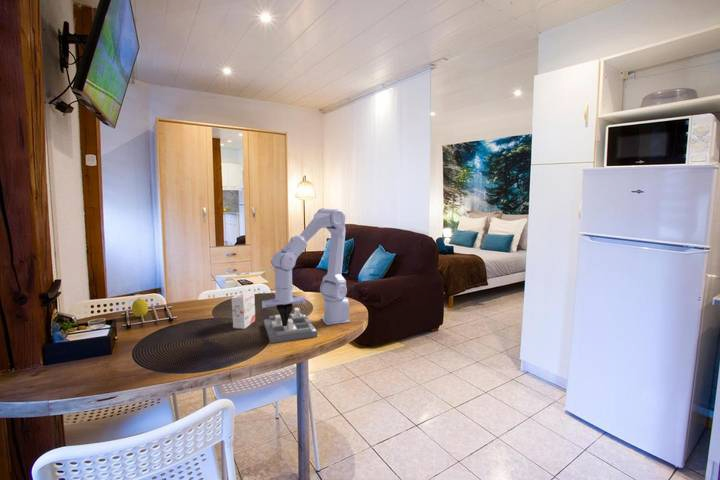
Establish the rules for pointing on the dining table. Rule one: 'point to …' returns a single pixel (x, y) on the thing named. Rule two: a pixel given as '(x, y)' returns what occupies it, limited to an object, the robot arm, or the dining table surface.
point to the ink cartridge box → (243, 308)
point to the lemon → (139, 307)
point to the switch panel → (302, 331)
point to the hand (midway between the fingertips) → (284, 325)
